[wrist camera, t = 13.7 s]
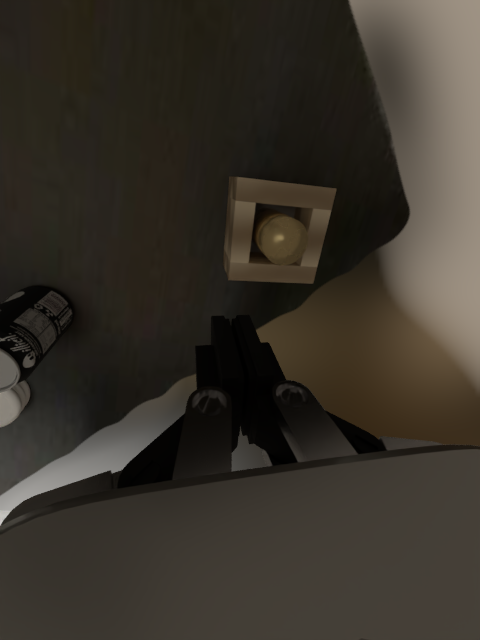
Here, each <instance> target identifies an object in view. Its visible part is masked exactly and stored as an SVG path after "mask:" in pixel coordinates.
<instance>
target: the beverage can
mask: <svg viewBox="0 0 480 640" xmlns="http://www.w3.org/2000/svg"><path fill="white" fill-rule="evenodd" d="M72 320H73V312H72V309H71V306H70V305H69V303H68V302H67V301H66V299H65V298H64V297H62V296H61V295H60V294H58V293H57V292H55V291H53V290H50V289H47V288H44V287H27V288H24V289H22V290H20V291H18V292H17V293H15V294H14V295H12V296H11V297H9V298H8V299H7V300H5V301H4V302H2V303H1V304H0V393H1V392H4V391H7V390H9V389H11V388H12V387H14V386H15V385H16V384H18V383H20V382H22V381H24V380H25V379H27V378H28V377H29V376H30V374H31V373H32V372H33V371H34V369H35V368H36V367H37V366H38V365H39V363H40V362H41V361H42V360H43V358H44V357H45V356H46V355H47V353H48V352H49V351H50V350H51V348H52V347H53V346H54V345H55V343H56V342H57V341H58V340H59V338H60V337H61V336H62V335H63V333H64V332H65V331H66V330H67V328H68V327H69V326H70V325H71V323H72Z"/></svg>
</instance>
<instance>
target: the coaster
mask: <svg viewBox="0 0 480 640" xmlns="http://www.w3.org/2000/svg"><path fill="white" fill-rule="evenodd" d="M29 399H30V388H29V386H28V384H27V382H26V381H25V380H24V381H22V382H20V383H18V384H16V385H15V386H14V387H12V388H11V389H9V390H7V391H4V392H1V393H0V427H3V426H6V425H8V424H10V423H11V422H12V421H14V420H15V419H16V418H17V417H18V416H19V414H20V412H21V411H22V410H23V409H24V407H25V406H26V405H27V403H28V401H29Z"/></svg>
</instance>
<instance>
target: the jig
mask: <svg viewBox="0 0 480 640" xmlns="http://www.w3.org/2000/svg"><path fill="white" fill-rule="evenodd" d="M336 190H337V189H335V188H326V187H318V186H309V185H301V184H293V183H284V182H276V181H267V180H259V179H251V178H242V177H231V176H229V189H228V203H227V217H226V230H225V244H224V257H223V265H224V268H225V271H226V274H227V277H228V280H239V281H263V282H287V283H310V284H313V282H314V278H315V274H316V270H317V266H318V262H319V258H320V254H321V250H322V246H323V242H324V238H325V234H326V230H327V226H328V222H329V218H330V214H331V210H332V206H333V202H334V198H335V194H336ZM261 208H271V209H274V210H276V211H278V212H281V213H283V214H285V215H287V216H290V217H292V218H294V219H296V220H298V221H300V222H301V223H302V224H303V225H304V226H305V228H306V230H307V233H308V244H307V247H306V250H305V252H304V253H303V255H302V256H301V257H300V258H299V259H298V260H297V261H295V262H294V263H292V264H289V265H277V264H274V263H273V262H271V261H270V260H269V259H268V258H267V257H266V256H265V255H264V254H263V252H262V251H261V250H260V249H259V248H258V247H257V246H256V245H255V243H254V242H253V241H252V240H251V239H252V230H253V222H254V214H255V212H256V211H257V210H259V209H261Z"/></svg>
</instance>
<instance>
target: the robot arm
mask: <svg viewBox="0 0 480 640" xmlns="http://www.w3.org/2000/svg"><path fill="white" fill-rule="evenodd" d="M195 349H196V381H197V390H196V391H194V392H193V393H192V394H191V395H190V396H189V399H188V401H187V406H186V411H185V414H184V415H182V416H181V417H180V418H179V419H178V420H177V421H176V422H175V423H174V424H172V425H171V426H170V427H169V428H168V429H166V430H165V431H164V432H163V433H162V434H161V435H160V436H159V437H157V438H156V439H155V440H154V441H153V442H152V443H150V444H149V445H148V446H147V447H146V448H145V449H144V450H142V451H141V452H140V453H139V454H138V455H137V456H136V457H135V458H133V459H132V460H131V461H130V462H129V463H128V464H127V465H126V467H124V469H123V470H121V471H118V472H115V473H113V474H112V473H111V471H107V472H104V473H101V474H98V475H95V476H92V477H89V478H86V479H83V480H80V481H77V482H74V483H71V484H68V485H65V486H62V487H59V488H57V489H54V490H50V491H47V492H44V493H41V494H38V495H36V496H33V497H31V498H29V499H27V500H25V501H23V502H22V503H21V504H19V505H18V506H17V507H15V508H14V509H13V510H12V511H11V512H10V513H9V515H8V516H7V517H6V518H5V519H4V521H3V522H2V524H1V526H0V640H480V446H473V445H443V444H440V443H436V442H431V441H421V440H411V439H402V438H393V437H383V436H381V437H380V439H377V438H376V437H375V436H373V435H371V434H370V433H368V432H367V431H365V430H362V429H361V428H359V427H356V426H355V425H353V424H351V423H349V422H347V421H345V420H343V419H341V418H339V417H337V416H335V415H333V414H331V413H329V412H327V411H325V410H324V408H323V407H322V406H321V404H320V403H319V402H318V400H317V399H316V398H315V396H314V395H313V394H312V393H311V391H310V390H309V389H308V388H307V387H306V386H304V385H303V384H301V383H299V382H296V381H291V380H286V379H285V376H284V374H283V372H282V370H281V368H280V366H279V363H278V361H277V359H276V357H275V355H274V353H273V351H272V348H271V346H270V344H269V343H268V342H266V343H261V342H260V340H259V337H258V335H257V333H256V330H255V328H254V325H253V323H252V320H251V318H250V316H249V315H237V316H236V319H232V325H230V321H229V319H225V318H224V316H212V317H211V345H203V346H195ZM240 426H241V431H242V435H243V436H245V435H247V436H248V441H249V444H253V443H254V444H256V445H257V446H259V447H260V448H262V455H263V458H264V460H265V463H266V465H267V467H262V468H255V469H247V470H240V471H233V472H231V467H232V464H231V461H232V452H233V451H234V450H235V448H236V447H237V444H238V436H239V432H240Z"/></svg>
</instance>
